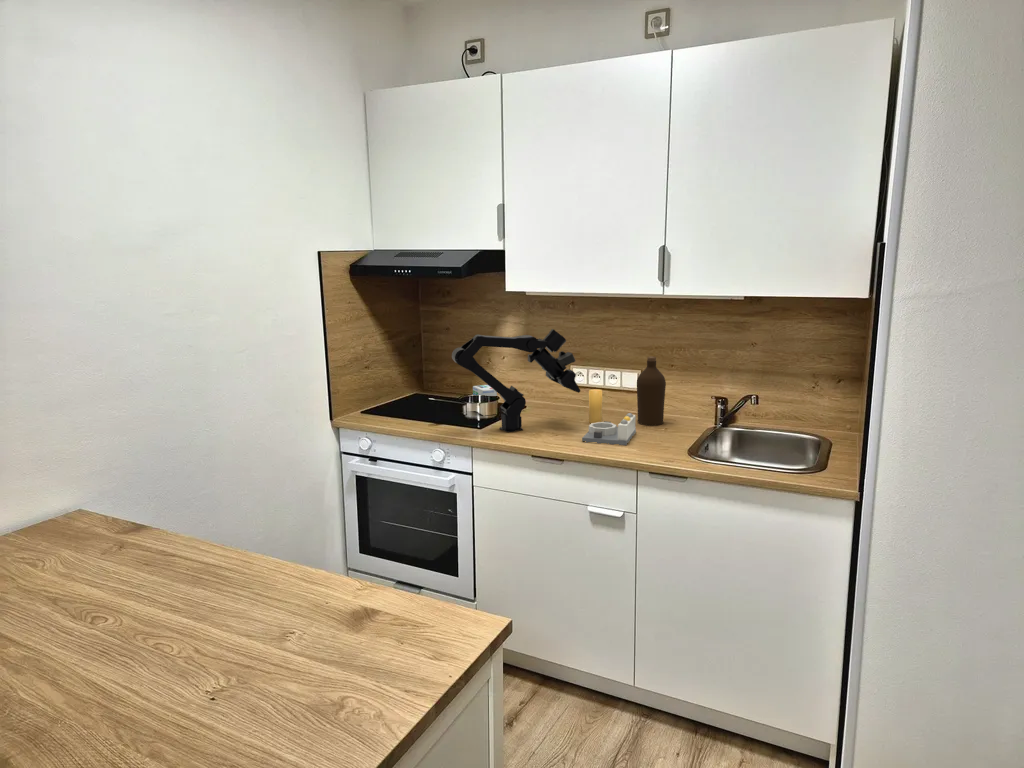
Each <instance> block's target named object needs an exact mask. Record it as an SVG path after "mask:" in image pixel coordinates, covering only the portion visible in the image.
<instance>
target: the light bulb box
mask: <svg viewBox="0 0 1024 768" xmlns="http://www.w3.org/2000/svg"><path fill="white" fill-rule="evenodd" d="M473 395H487V396H497V397H498V393H497V392H496V391H495V390H494V389H493V388H491V387H490V386H489V385H488V384H481V385H473V386H472V396H473Z"/></svg>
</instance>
